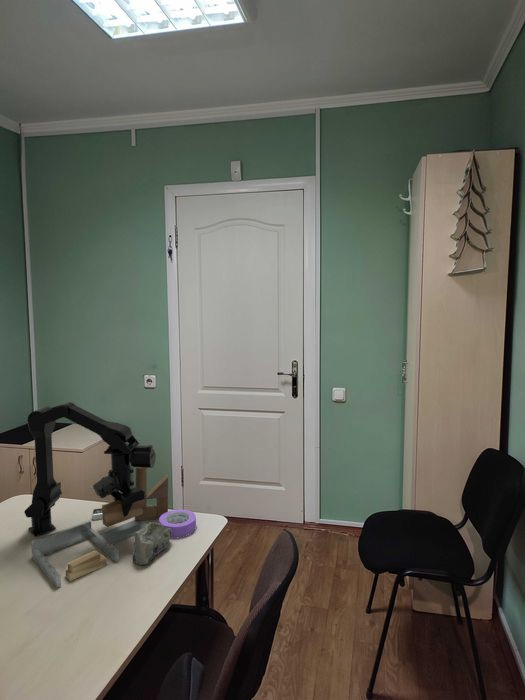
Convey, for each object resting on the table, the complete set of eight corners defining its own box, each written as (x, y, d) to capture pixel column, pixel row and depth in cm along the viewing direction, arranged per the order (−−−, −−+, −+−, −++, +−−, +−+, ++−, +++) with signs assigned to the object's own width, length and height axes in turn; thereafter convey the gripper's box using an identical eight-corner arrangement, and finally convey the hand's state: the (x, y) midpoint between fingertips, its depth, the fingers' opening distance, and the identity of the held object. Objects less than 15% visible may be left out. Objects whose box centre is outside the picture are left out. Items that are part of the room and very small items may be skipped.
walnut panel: (102, 523, 138) (102, 505, 138) (137, 510, 147) (137, 493, 146) (107, 527, 136) (106, 508, 136) (142, 514, 145) (142, 496, 144)
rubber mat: (97, 535, 140) (97, 534, 140) (137, 519, 150) (137, 518, 150) (108, 545, 134) (108, 544, 134) (150, 528, 144) (150, 527, 144)
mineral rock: (170, 539, 138) (169, 508, 137) (181, 556, 129) (181, 523, 127) (127, 551, 132) (126, 518, 130) (136, 570, 122) (135, 535, 121)
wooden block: (167, 518, 151) (168, 466, 149) (134, 521, 148) (134, 468, 146) (167, 513, 154) (167, 462, 153) (134, 516, 151) (135, 464, 150)
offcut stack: (65, 575, 120) (64, 562, 119) (101, 560, 127) (100, 547, 126) (70, 581, 117) (69, 567, 117) (107, 565, 124) (106, 552, 124)
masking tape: (193, 517, 152) (193, 507, 151) (198, 535, 140) (198, 523, 140) (158, 522, 148) (158, 511, 148) (160, 540, 137) (159, 529, 137)
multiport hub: (93, 515, 154) (93, 509, 154) (137, 509, 158) (136, 503, 158) (92, 521, 150) (92, 514, 149) (137, 515, 154) (136, 508, 154)
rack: (32, 557, 128) (31, 541, 128) (90, 535, 140) (89, 520, 139) (57, 587, 115) (55, 569, 114) (119, 560, 127) (118, 543, 126)
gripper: (83, 465, 141) (85, 512, 142) (110, 482, 127) (112, 534, 129) (116, 456, 148) (118, 501, 150) (145, 472, 135) (147, 521, 137)
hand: (123, 514), depth 141 cm, fingers closed on walnut panel, 3 cm apart
